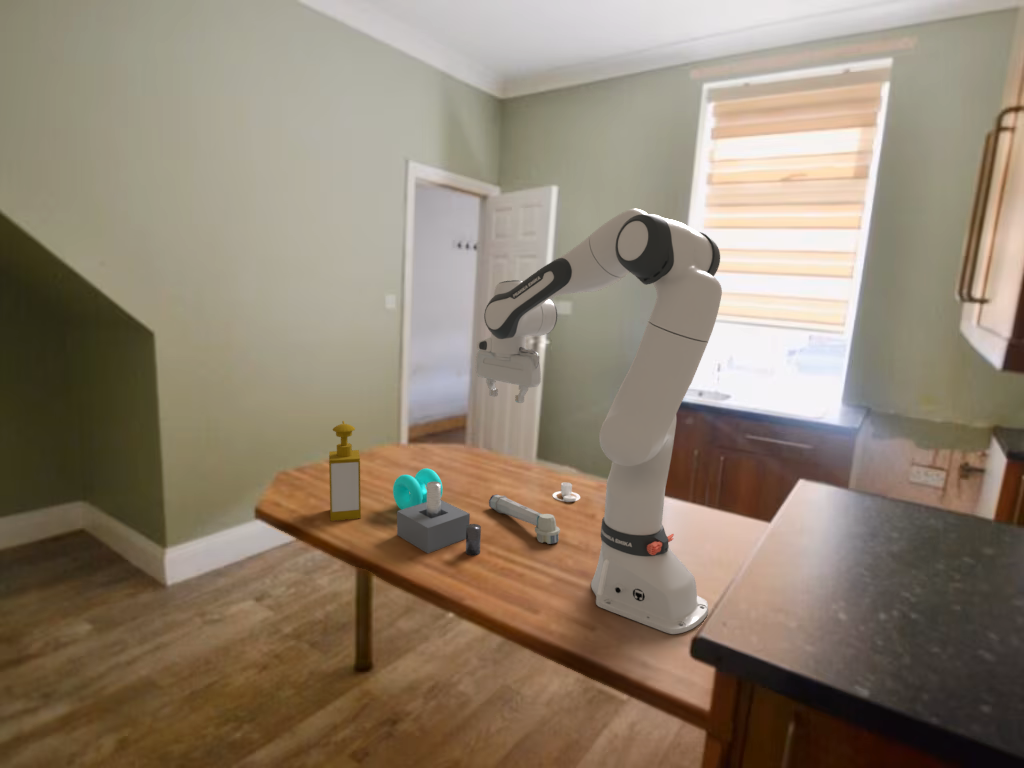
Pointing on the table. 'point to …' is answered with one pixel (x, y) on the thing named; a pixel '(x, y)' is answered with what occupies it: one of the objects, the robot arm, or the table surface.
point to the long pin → (433, 499)
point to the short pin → (473, 539)
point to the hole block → (432, 526)
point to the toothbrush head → (528, 518)
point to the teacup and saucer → (566, 493)
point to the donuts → (413, 488)
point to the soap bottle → (344, 477)
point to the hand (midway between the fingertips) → (506, 399)
